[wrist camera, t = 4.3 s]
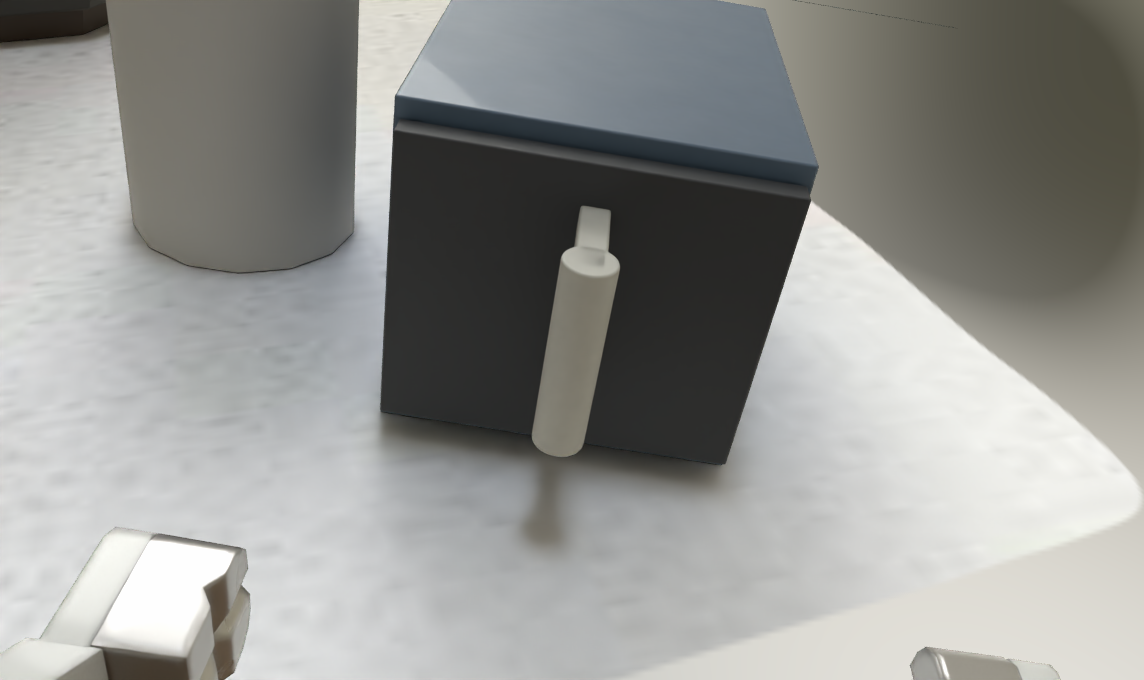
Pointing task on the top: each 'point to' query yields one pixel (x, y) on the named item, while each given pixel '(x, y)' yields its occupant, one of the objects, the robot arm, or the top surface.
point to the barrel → (49, 18)
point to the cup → (238, 127)
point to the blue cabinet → (617, 84)
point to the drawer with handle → (578, 291)
